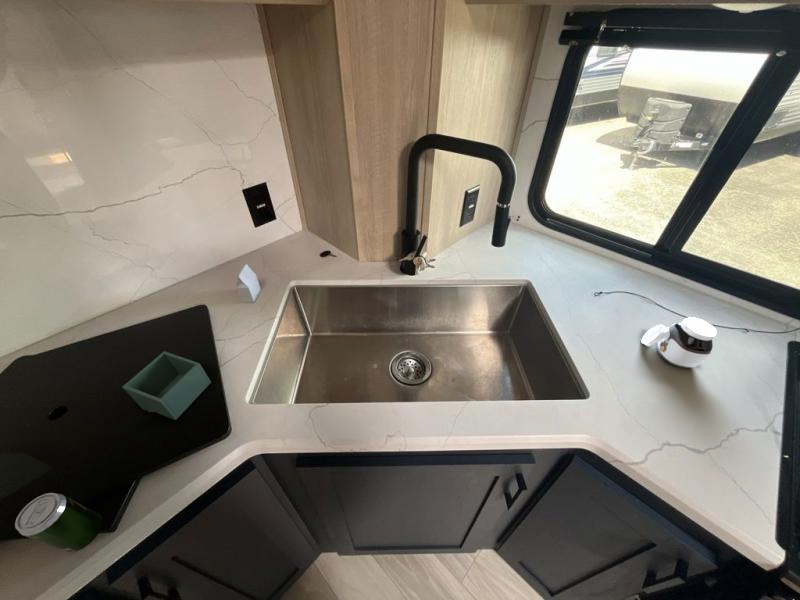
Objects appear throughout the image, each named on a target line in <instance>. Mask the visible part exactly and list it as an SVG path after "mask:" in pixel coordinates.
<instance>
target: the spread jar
mask: <svg viewBox="0 0 800 600" xmlns="http://www.w3.org/2000/svg"><path fill="white" fill-rule="evenodd" d="M716 336H718V331H717V329H716V327H714V325H712V324H710V323H709V322H708V321H706V320H704V319H701V318H698V317H691V316H690V317H686V318H684V319H683V320H682V321H681V322H675V323H673V324H670V325H669V326H668V327H666V326H665V325H663V324H657V325H655V326H652V327H651V328H650V329H648V330H647V331H646V332H645V333H644V335H643V336H642V338H641V344H643V345H644V346H646V347H653V346H655V345H657V353H658V354H660V355H659V356H660V357H661V358H662V360H664V362H666V361H667V362H666V363H668V364H670V365H672V366H675V367H679V368H684V369H685V368H696V367H698V366H699V365H700V364H702V363H703V362H704V361H705V360H706V359H707V358H708V357H709V355H710V354H711V353H712V351H713V347H714V343H713V340H714V338H716Z"/></svg>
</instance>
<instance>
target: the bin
mask: <svg viewBox="0 0 800 600" xmlns="http://www.w3.org/2000/svg"><path fill="white" fill-rule="evenodd" d="M211 383H212V381H211V380H210V378H209V376H208V374H207V373H206V371H205V370H204V368H203V367H202V365H201V363H200V362H197V361H194V360H192V359H189V358H185V357H182V356H179V355H177V354H173V353H171V352H169V351H165V350H164V351H163V352H161V353H160V354H159V355H158V356H156V357H155V358H154V359H153V360H152V361H151V362H150V363H148V364H147V365H146V366H144V368H143V369H142V370H140V371H139V372H138V373H137V374H135V375H134V376H133V377H132V378H131V379H130V380H128V381H127V382H126V383H125V384H124V385H122V387H121V388H122V389H123V390H124V391H125V392H126V393H127V394H128V395H129V396H130V397H131V398H132V399H133V401H135V403H136V404H137V405H138V406H139V407H140V408H141V409H142V410H144V411H146V410H147V411H146V412H149V413H151V412H152V413H153V412H154V413H156V414H159V415H162V416H164V417H166V418H169V419H171V420H174V421H177V420H178V419H179V417H180V416H181V415H182V414H183V413H184V412H185V411H186V410H187V409H188V408H189V407H190V406H191V405H192V403H194V401H195V400H196V399H197V398H198V397H199V396H200V395H201V394H202V393H203V392H204V391H205V389H207V388H208V386H209V385H210V384H211Z"/></svg>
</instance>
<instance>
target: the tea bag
mask: <svg viewBox="0 0 800 600" xmlns="http://www.w3.org/2000/svg"><path fill="white" fill-rule="evenodd" d="M235 288H236V291H237V293H238V296H239V299H240V302H241V303H242V304H243V303H244V304H245V303H246V304H247V303H249V304H251V303H252V304H253V303H256V300H257V298H258V296H259V294H260V292H261V290H262V288H261V286H260V282H259V279H258V276H257V274H256V273H255V272H254V271H253V270H252V268H250V266H249V265H248V263H245V264H244V265H243V267H242V268H241V270H240V272H239V273H238V275H237V281H236V286H235Z"/></svg>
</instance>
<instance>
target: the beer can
mask: <svg viewBox="0 0 800 600" xmlns="http://www.w3.org/2000/svg"><path fill="white" fill-rule="evenodd" d="M103 525H104V519H103V515H101V514H99V513H98V512H96V511H93V510H92V509H91V508H89V507H86V506H84V505H83V504H82V503H79V502H77V501H75V499H74V500H73V499H72V498H70V497H68V496H66V495H64V494H62V493H55V492H48V493H43V494H41V495H40V496H37V497H36V498H34V499H32V500H31V501H29V502H28V503H27V504H26V505H25V506H24V507H23V508H22V509H21V511H20V512H19V513H18V515H17V517H16V519H15V523H14V527H15V530H17V531H18V533H19V534H21V536H24V537H26V538H28V539H32V540H34V541H37V542H40V543H42V544H45V545H48V546H51V547H54V548H56V549H58V550H61V551H64V552H66V553H67V552H68V553H74V552H78V551H80V550H83V549H84V548H86V547H87V546H89V545H90V544H91V543H92V542H93V541H94V540H95V539H96V538H97V537H98V535H99V534H100V532H101V530H102V528H103Z"/></svg>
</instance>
